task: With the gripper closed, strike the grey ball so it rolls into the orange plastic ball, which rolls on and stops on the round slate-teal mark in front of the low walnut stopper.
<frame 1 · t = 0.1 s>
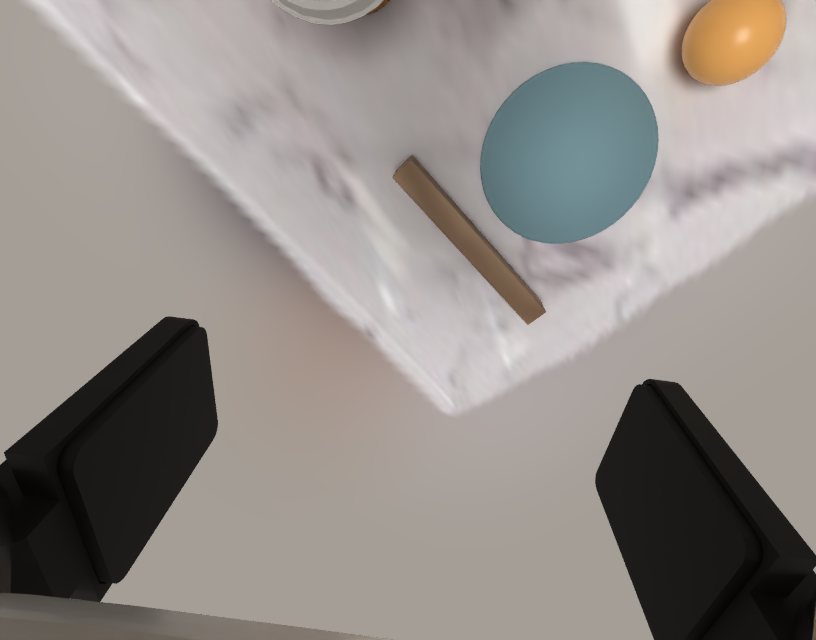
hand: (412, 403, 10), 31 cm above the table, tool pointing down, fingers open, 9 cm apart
object ball: (731, 38, 29), on the table
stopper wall: (472, 239, 40), on the table
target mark: (566, 160, 36), on the table
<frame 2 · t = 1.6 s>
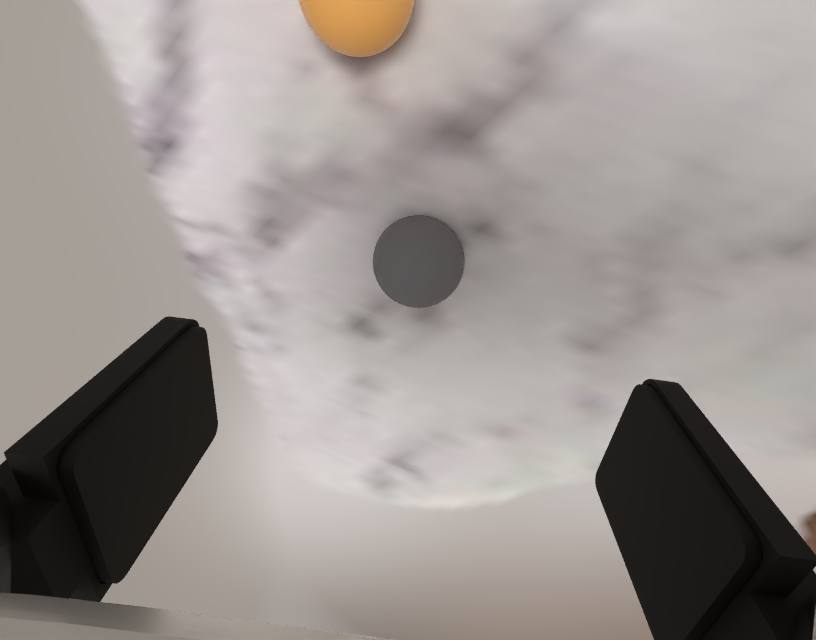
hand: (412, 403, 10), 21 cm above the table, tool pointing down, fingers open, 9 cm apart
grey ball: (418, 262, 27), on the table
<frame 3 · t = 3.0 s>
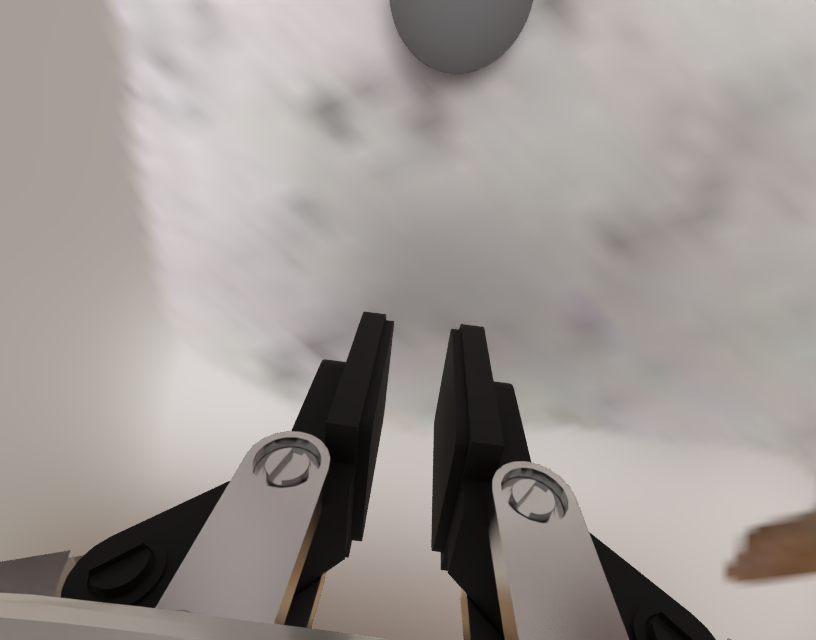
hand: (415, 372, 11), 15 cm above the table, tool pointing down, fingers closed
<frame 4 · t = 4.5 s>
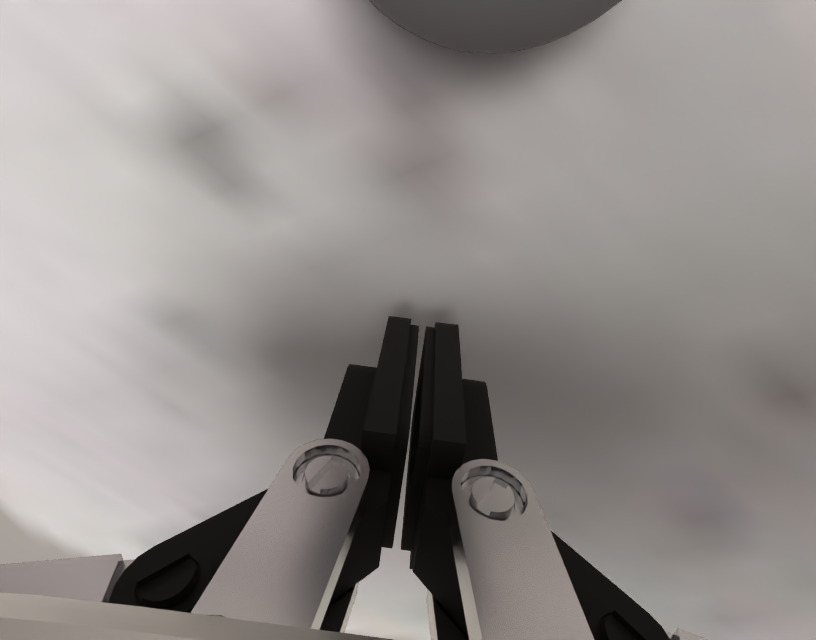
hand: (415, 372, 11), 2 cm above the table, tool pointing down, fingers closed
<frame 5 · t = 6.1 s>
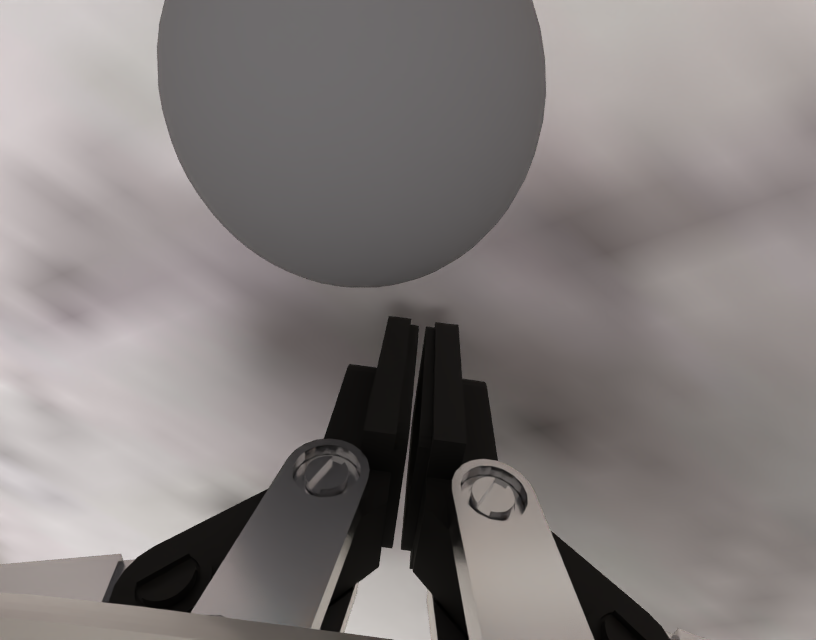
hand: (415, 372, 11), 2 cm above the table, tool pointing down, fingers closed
grey ball: (360, 110, 7), on the table
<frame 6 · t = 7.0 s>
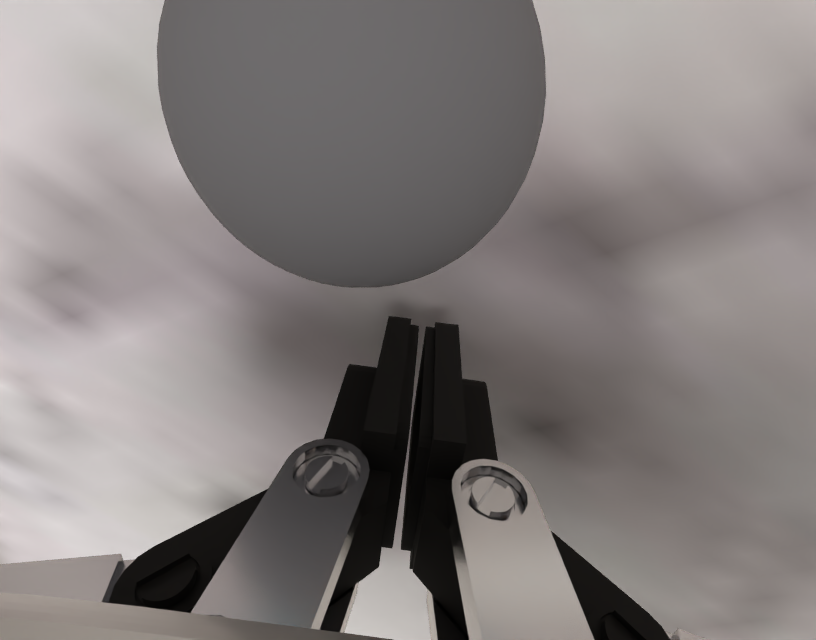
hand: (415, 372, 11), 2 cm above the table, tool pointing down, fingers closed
grey ball: (360, 110, 7), on the table
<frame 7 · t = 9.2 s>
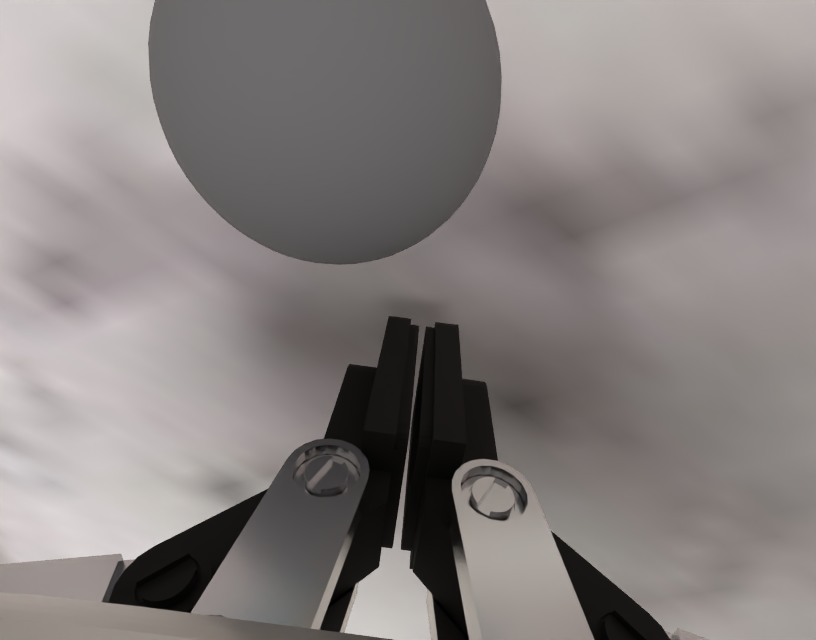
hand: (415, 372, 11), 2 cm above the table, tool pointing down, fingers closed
grey ball: (336, 101, 8), on the table
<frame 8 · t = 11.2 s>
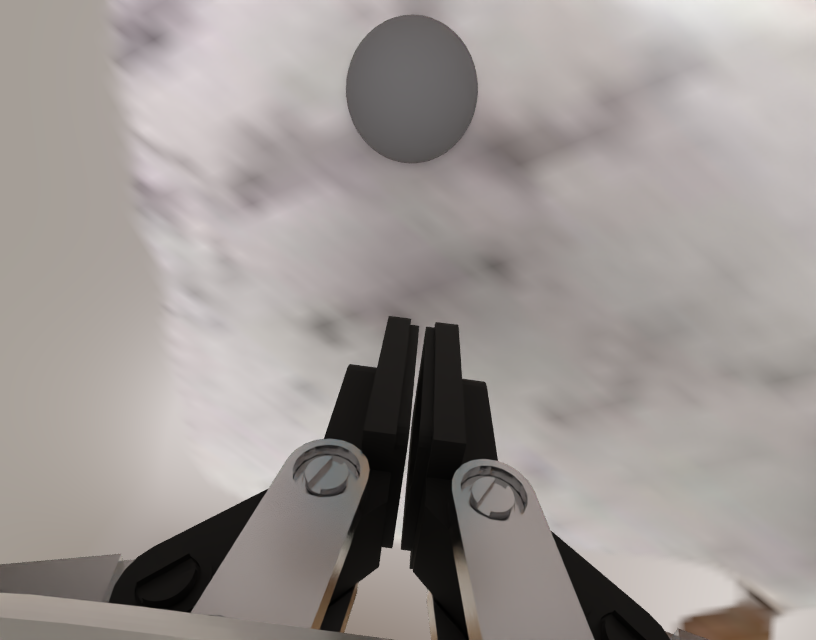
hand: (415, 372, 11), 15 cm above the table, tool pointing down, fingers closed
grey ball: (411, 93, 19), on the table
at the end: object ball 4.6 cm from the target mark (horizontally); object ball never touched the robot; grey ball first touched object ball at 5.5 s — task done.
